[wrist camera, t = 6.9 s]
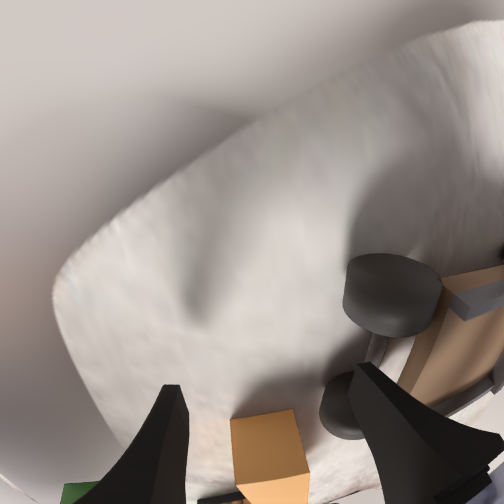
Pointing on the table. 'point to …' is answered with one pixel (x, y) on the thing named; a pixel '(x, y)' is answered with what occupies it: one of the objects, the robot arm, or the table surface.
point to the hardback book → (75, 491)
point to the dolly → (423, 334)
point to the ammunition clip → (226, 499)
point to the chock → (270, 459)
